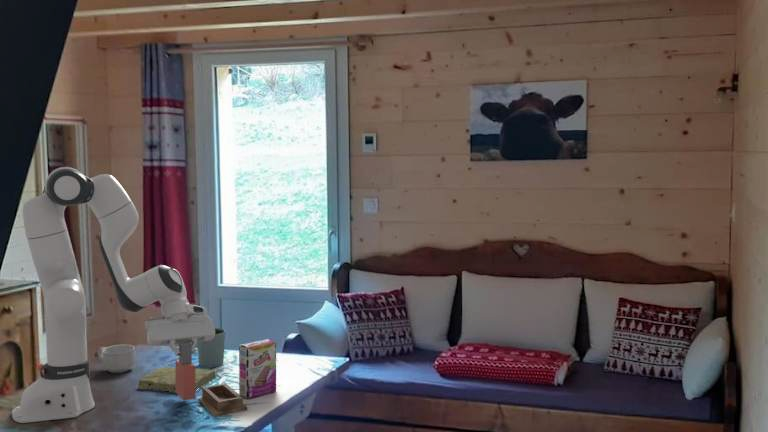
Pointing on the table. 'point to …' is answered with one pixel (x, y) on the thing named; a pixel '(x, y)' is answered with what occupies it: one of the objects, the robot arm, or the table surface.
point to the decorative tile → (172, 379)
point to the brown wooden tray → (221, 400)
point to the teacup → (118, 357)
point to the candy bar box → (257, 368)
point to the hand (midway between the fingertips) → (185, 353)
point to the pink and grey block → (185, 373)
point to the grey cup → (212, 350)
